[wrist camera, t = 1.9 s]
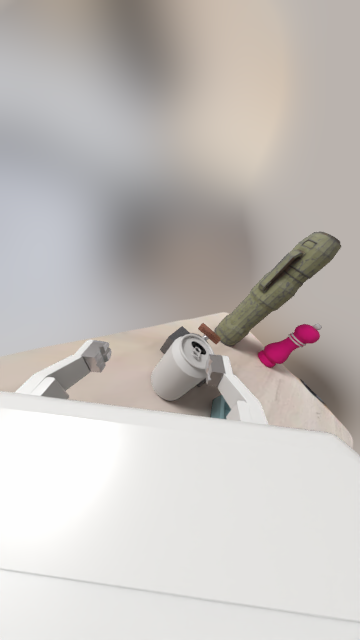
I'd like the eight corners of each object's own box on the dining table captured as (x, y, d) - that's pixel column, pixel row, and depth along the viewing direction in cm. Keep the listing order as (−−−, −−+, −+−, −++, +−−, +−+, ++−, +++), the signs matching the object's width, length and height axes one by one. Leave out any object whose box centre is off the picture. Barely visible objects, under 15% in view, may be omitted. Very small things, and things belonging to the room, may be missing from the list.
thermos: (207, 327, 49) (303, 218, 29) (227, 327, 56) (315, 239, 36) (220, 348, 44) (348, 234, 24) (240, 345, 51) (352, 255, 31)
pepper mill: (274, 364, 53) (331, 331, 41) (270, 372, 48) (334, 337, 36) (259, 349, 56) (309, 314, 44) (254, 355, 51) (308, 317, 39)
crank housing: (197, 388, 30) (228, 366, 24) (158, 350, 32) (178, 321, 26) (208, 368, 36) (235, 346, 30) (174, 337, 38) (193, 310, 32)
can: (189, 380, 31) (223, 351, 24) (172, 411, 25) (212, 384, 18) (163, 358, 31) (189, 323, 24) (141, 383, 25) (167, 346, 18)
